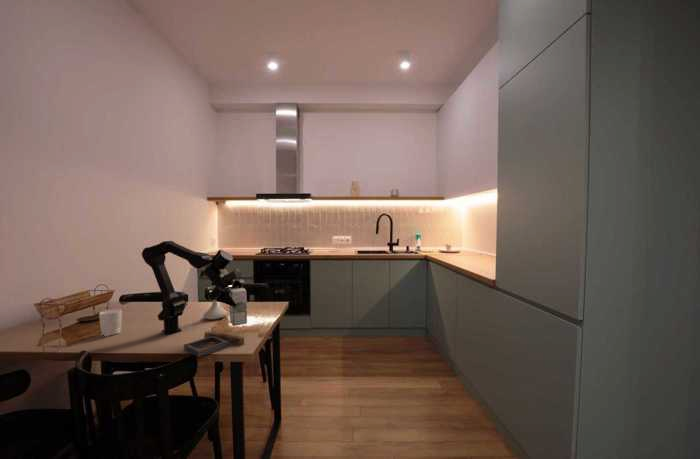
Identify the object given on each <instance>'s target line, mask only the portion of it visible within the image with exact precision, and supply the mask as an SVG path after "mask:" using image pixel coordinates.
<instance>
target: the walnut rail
mask: <svg viewBox="0 0 700 459" xmlns="http://www.w3.org/2000/svg"><path fill="white" fill-rule="evenodd" d="M203 333H204V338H207V337H210V336H213V335H214V336H216V337H218V338H221V339H223V340H226V341H228V344H233V345H237V346H243V345H245V337H243V336H237V335H231V334H228V333H227V334H226V333H221V332H214V331H209V330H208V331H205V332H203Z"/></svg>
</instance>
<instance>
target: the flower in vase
mask: <svg viewBox="0 0 700 459" xmlns="http://www.w3.org/2000/svg"><path fill="white" fill-rule="evenodd" d="M221 272H222V273H223V274H225V273H227V274H229V271H228V270H227V268H225V269H223V270H222V269H221ZM208 285H209V287H210V288H211V287H212V288H213V289H214V288H215V287H216V286H212V285H211V284H208ZM213 289H212V290H213ZM212 290H208V292H209V294H210V293H211V291H212ZM211 302H212V304H211V306H210V307H209V308H208V309H207V310H206V311H204V313H203V315H202V318H204V319H205V320H218V319H222V318H224V317H225V316H227V315H228V311H227V310H226V309H224V308H223V307H222V306H220V305H219V304H218V301H215V300H213V301H211Z"/></svg>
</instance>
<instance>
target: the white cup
mask: <svg viewBox="0 0 700 459" xmlns="http://www.w3.org/2000/svg"><path fill="white" fill-rule="evenodd" d="M122 311H123V309H121V308H116V309H115V308H114V309H107V310H104V311H101V312H99V313H98V315H99V324H100V331H101V336H102V335H104V336H105V337H106V335H107V337H109V336H108V335H113V334H117V333H119V334H120V332H121V333H122V323H123V322H122V320H123V317H122V316H123V312H122ZM117 335H118V334H117ZM104 336H103V337H104ZM113 336H114V335H113Z"/></svg>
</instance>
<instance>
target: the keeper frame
mask: <svg viewBox="0 0 700 459" xmlns="http://www.w3.org/2000/svg"><path fill="white" fill-rule="evenodd" d="M210 343H213V345H210V346H207V347H205V348H200V349H198V347H201V346H204V345H207V344H210ZM226 348H229V343H228V341H226V340H223V339H221V338H218V337H216V336H214V335H213V336H210V337H207V338H205V337H204V338H200V339H197V340H194V341H191V342H188V343H185V344H183V351H186V352H187V353H189V354H191V355H192V356H194V355H196V356H197V357H196V356H195V357H196V358H201V357H203V356H206V355H209V354H212V353H215V352H217V351H220V350H224V349H226Z"/></svg>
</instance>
